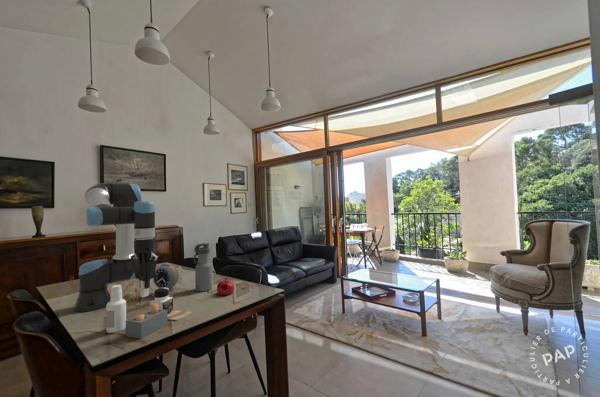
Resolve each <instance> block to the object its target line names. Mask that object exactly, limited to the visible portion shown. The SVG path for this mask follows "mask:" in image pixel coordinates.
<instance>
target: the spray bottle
mask: <svg viewBox="0 0 600 397" xmlns="http://www.w3.org/2000/svg"><path fill="white" fill-rule="evenodd" d="M110 290H111V291H110V297H111V301H110V302H109V303H107V305H106V307H105V308H106V309H105V310H106V312H105V314H106V315H105V316H106V318H105V319H106V320H105V321H106V324H105V325H106V329H105V330H106V332H107V333H108V334H112V333H119V332H122V331H123V330H126V320H127V300H125V299H124V298H123V290H122V284H115V285H112V286H111V289H110Z"/></svg>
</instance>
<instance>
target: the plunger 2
mask: <svg viewBox="0 0 600 397" xmlns="http://www.w3.org/2000/svg"><path fill="white" fill-rule="evenodd" d="M149 310H150V314H155V313H158V303H155V304H151V305H150V304H149Z"/></svg>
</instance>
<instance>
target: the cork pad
mask: <svg viewBox="0 0 600 397" xmlns="http://www.w3.org/2000/svg"><path fill="white" fill-rule="evenodd" d="M190 314H192V311H188V310H181V309H180V310H178V309H175V310H173V312H171V313H169V314H167V321H173V320H175V322H179V321H180V320H181V318H182V319H183V318H185V317H187V316H189V315H190Z"/></svg>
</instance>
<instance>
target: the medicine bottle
mask: <svg viewBox="0 0 600 397" xmlns="http://www.w3.org/2000/svg"><path fill="white" fill-rule="evenodd" d="M154 293H155V296H154V299H153V300H150V302H149V306H150V305H151V304H155V303H158V309H164V310H167V314H169V313H171V312H173V311H174V297H173V296H170V297H169V289H168V288H157V289H155V290H154ZM154 293H153V294H154Z"/></svg>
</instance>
